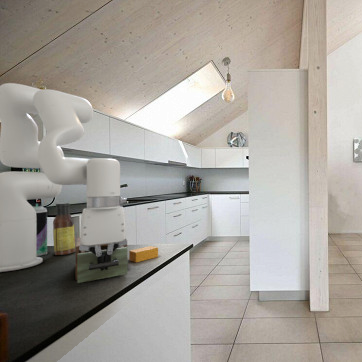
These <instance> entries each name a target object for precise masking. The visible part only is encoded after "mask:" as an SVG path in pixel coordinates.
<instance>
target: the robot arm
mask: <svg viewBox="0 0 362 362" xmlns="http://www.w3.org/2000/svg"><path fill="white" fill-rule="evenodd" d="M29 114H32V115H35V116H39V119H40V120H41V122H42V125H43V127H44V129H45V131H46V133H47V134H45V135H44V137H42V139H41V140H40V141H39V138H38V137H39V127H38V124H37V123H36V121H35V120H34V119H33V118H32V116H31V115H29ZM93 117H94V108H93V106H92V104H91V103H90V101H89V100H87V99H86V98H84V97H82V96H79V95H76V94H75V95H74V94H72V93H68V92H63V91H60V90H56V89H50V88H49V89H47V88H45V89H41V88H38V87H34V86H31V85H25V84H21V83H15V82H6V83H2V84H1V85H0V163H1V164H2V165H4V166H6V167H10V168H20V169H21V168H22V169H40V170H41V171H17V170H16V171H2V172H0V273H2V272H11V271H17V270H24V269H27V268H31V267H34V266H38V265H40V264H41V263H43V262H44V261H43V260H44V259H43V257H40V256H36V211H35V209H34V208H33V207H32V206H33V205H32V204H30V203H29V202H28V201H29V200H41V199H42V200H43V199H44V200H45V199H52V198H56V197H58V196H59V195H60V194H61V192H62V189H63V186H72V185H73V186H74V185H75V186H76V185H79V186H81V185H83V186H85V185H86V208H83V209H82V212H81V218H80V230H79V231H80V232H79V233H80V234H79V235H80V236H79V238H80V239H81V244H80V247H79V250H80V251H91V252H92V253H94V254H95V255H96V256H97V264H98V263H104V262H110V261H111V254H112V252H114V251H115V250H116V249H117V248H118V247H121V246H124V245H126V244H127V245H128V240H127V241H126V239H127V225H126V216H125V209H124V207H123V206H121V205H122V204H125V203H127V197H122V196H121V163H120V161H119V160H117V159H115V158H105V157H93V158H85V157H84V158H83V157H74V156H73V157H71V156H69V157H68V156H65V154H64V151H63V149H62V148H61V146H64V145H69V144H73V143H75V142H77V141H79V140H81V139H82V138H83V137H84V135H85V128H84V126H83V124H87V123H89V122H91V121H92V119H93ZM103 244H108V245H107V251H106V252H105V254H103V252H102V251H101V247H100V245H103ZM94 246H95V247H94ZM105 269H106V270H108V267H106V268H105ZM103 270H104V268H101V271H103Z"/></svg>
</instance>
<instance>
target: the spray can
mask: <svg viewBox="0 0 362 362" xmlns="http://www.w3.org/2000/svg"><path fill="white" fill-rule="evenodd" d="M31 206H32V207H33V208H34V209H35V211H36V257H40V256H45V255H47V254H48V208H46V207H44V206H43V205H42V203H41V202H34V203H33V205H31Z"/></svg>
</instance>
